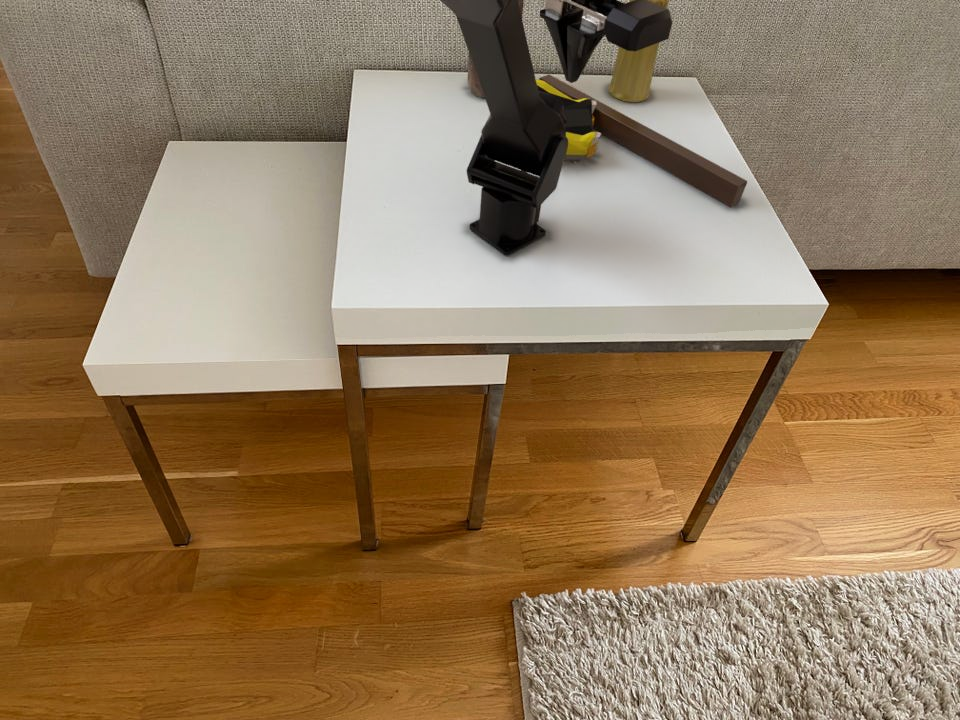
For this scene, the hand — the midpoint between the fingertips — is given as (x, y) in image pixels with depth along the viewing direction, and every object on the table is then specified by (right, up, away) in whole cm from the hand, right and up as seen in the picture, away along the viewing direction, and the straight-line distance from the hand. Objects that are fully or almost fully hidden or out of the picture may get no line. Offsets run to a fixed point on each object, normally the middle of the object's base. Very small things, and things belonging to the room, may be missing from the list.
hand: (571, 81), depth 79 cm
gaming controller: (0, -2, +16) cm, 16 cm away
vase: (+12, +9, +27) cm, 31 cm away
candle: (-8, +9, +26) cm, 28 cm away
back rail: (+10, -2, +17) cm, 19 cm away
